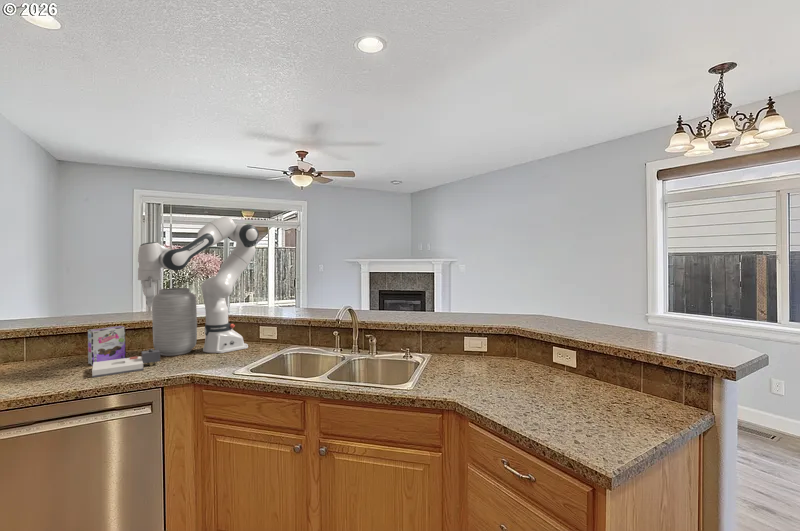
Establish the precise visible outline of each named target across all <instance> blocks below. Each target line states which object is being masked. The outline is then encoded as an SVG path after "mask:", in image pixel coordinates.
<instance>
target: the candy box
mask: <svg viewBox="0 0 800 531" xmlns="http://www.w3.org/2000/svg"><path fill="white" fill-rule="evenodd" d="M126 353H127V352H126V327H125V326H123V325H117V326H110V327H109V326H108V327H101V328H93V329H87V363H88V364H89V365H90V366H92V367H93V362H100V361H108V360H116V359H123V358H127V356H126V355H127V354H126Z"/></svg>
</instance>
